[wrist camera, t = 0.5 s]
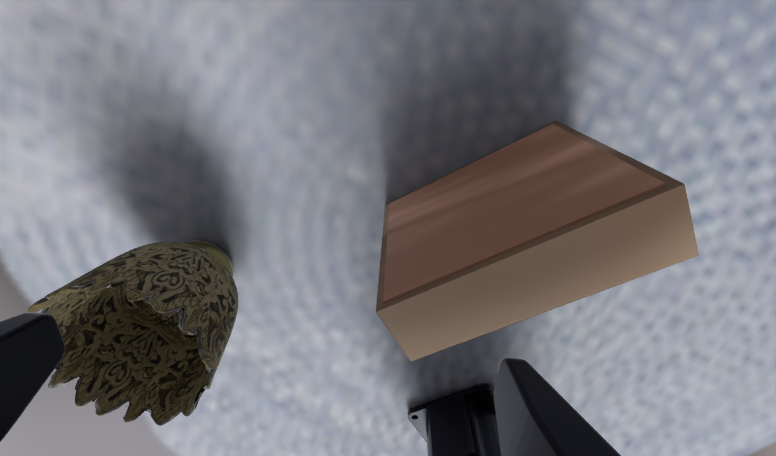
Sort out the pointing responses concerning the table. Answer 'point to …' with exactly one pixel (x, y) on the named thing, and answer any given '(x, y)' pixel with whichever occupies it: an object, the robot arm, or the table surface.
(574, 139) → the wooden block
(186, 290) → the cup
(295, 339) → the table surface
